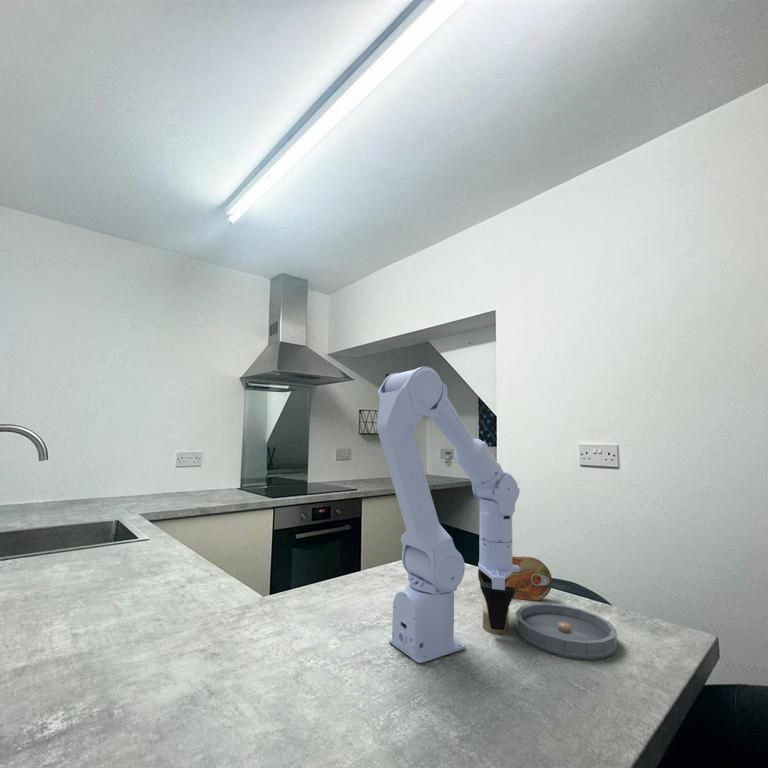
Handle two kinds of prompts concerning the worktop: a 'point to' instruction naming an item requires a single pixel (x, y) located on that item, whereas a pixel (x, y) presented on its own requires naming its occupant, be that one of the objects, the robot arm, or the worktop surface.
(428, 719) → the worktop surface
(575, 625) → the round tray
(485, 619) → the beige cylinder
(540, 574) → the tin
